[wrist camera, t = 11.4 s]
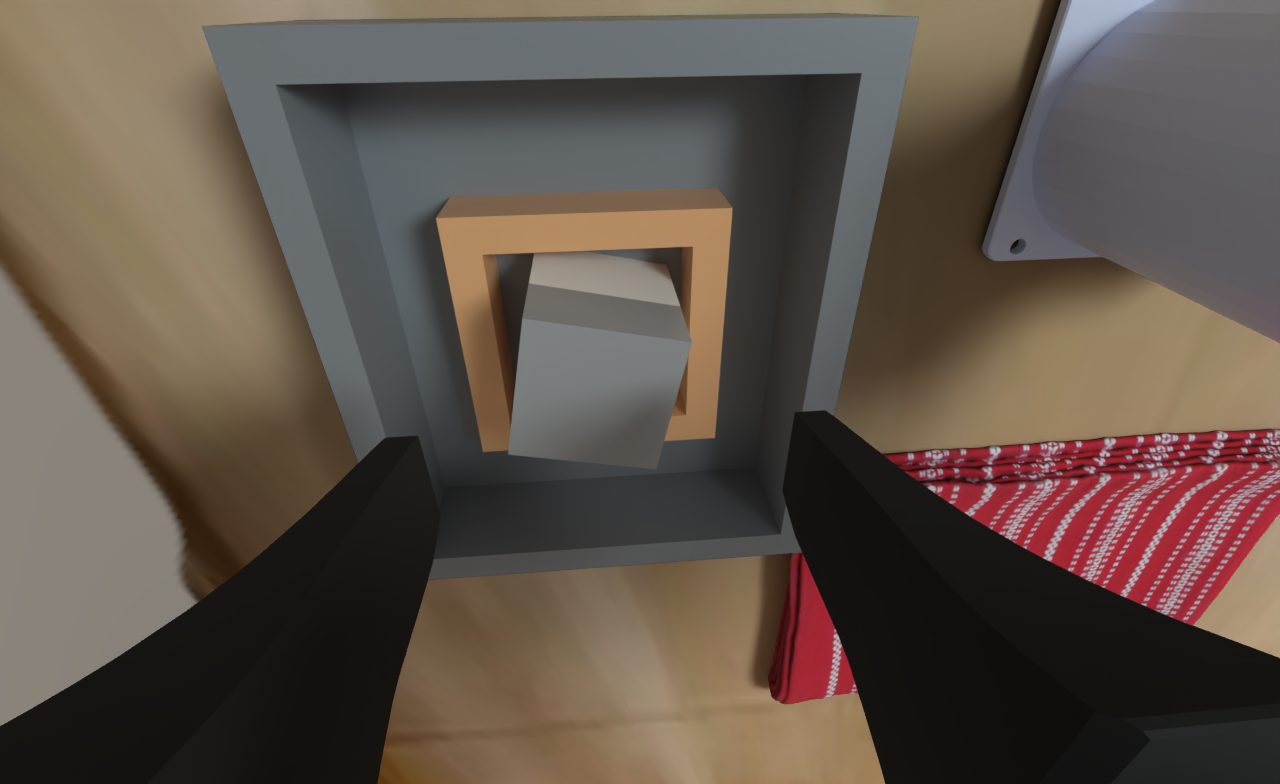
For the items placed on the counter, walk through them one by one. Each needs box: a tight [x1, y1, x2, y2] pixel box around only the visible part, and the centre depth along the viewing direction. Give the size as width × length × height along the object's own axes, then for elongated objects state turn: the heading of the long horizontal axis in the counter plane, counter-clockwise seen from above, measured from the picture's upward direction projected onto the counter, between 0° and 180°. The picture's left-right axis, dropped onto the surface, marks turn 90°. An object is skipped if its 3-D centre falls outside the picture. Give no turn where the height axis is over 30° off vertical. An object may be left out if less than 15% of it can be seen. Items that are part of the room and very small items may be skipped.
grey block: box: [508, 251, 692, 469], centre depth 17 cm, size 4×4×5 cm
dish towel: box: [768, 429, 1280, 704], centre depth 29 cm, size 17×24×3 cm
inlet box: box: [202, 13, 919, 580], centre depth 18 cm, size 14×16×4 cm
